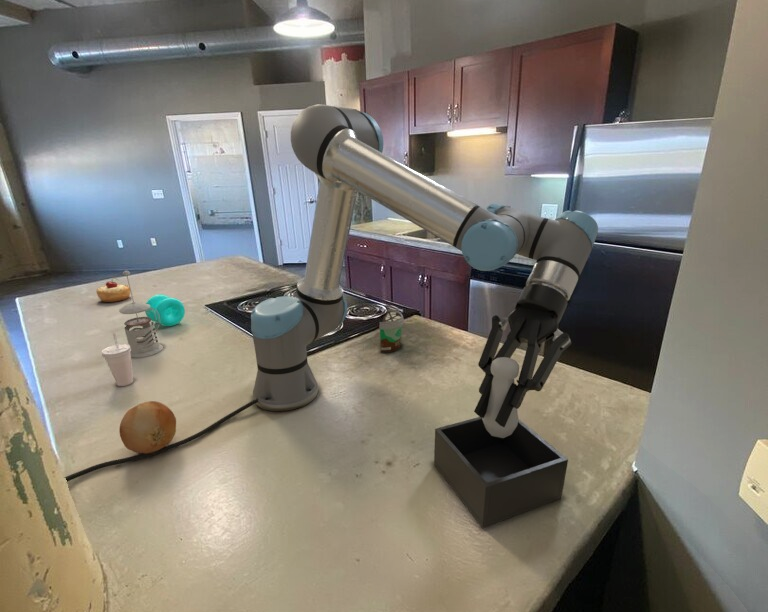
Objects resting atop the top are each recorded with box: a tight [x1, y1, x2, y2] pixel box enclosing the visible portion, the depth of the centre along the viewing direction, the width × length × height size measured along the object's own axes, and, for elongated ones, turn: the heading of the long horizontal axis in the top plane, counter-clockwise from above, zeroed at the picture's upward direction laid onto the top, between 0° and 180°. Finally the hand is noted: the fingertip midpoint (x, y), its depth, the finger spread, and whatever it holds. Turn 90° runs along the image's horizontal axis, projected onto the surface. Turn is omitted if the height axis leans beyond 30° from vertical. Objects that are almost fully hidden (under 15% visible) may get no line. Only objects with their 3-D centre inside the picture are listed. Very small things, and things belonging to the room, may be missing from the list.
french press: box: [118, 270, 164, 358], centre depth 123 cm, size 10×12×25 cm
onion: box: [119, 400, 177, 454], centre depth 82 cm, size 10×10×10 cm
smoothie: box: [101, 331, 134, 387], centre depth 106 cm, size 6×6×14 cm
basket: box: [433, 416, 569, 529], centre depth 72 cm, size 16×16×8 cm
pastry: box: [95, 277, 131, 303], centre depth 174 cm, size 12×12×9 cm
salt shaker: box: [482, 357, 520, 438], centre depth 67 cm, size 6×6×13 cm
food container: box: [378, 308, 405, 353], centre depth 125 cm, size 12×6×10 cm, turn 168°
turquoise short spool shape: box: [144, 294, 186, 327], centre depth 146 cm, size 10×10×10 cm
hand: (489, 419), depth 65 cm, fingers closed on salt shaker, 3 cm apart
